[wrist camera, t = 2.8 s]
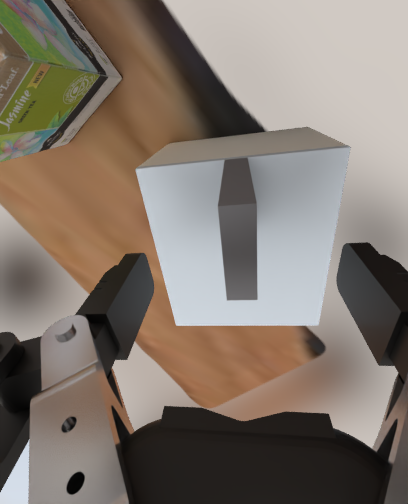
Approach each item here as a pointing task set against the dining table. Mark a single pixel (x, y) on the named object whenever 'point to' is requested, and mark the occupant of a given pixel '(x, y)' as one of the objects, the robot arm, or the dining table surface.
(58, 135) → the tea box
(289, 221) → the square plate with stem
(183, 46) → the dining table surface
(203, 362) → the dining table surface
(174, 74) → the dining table surface
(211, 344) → the dining table surface
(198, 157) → the carton
